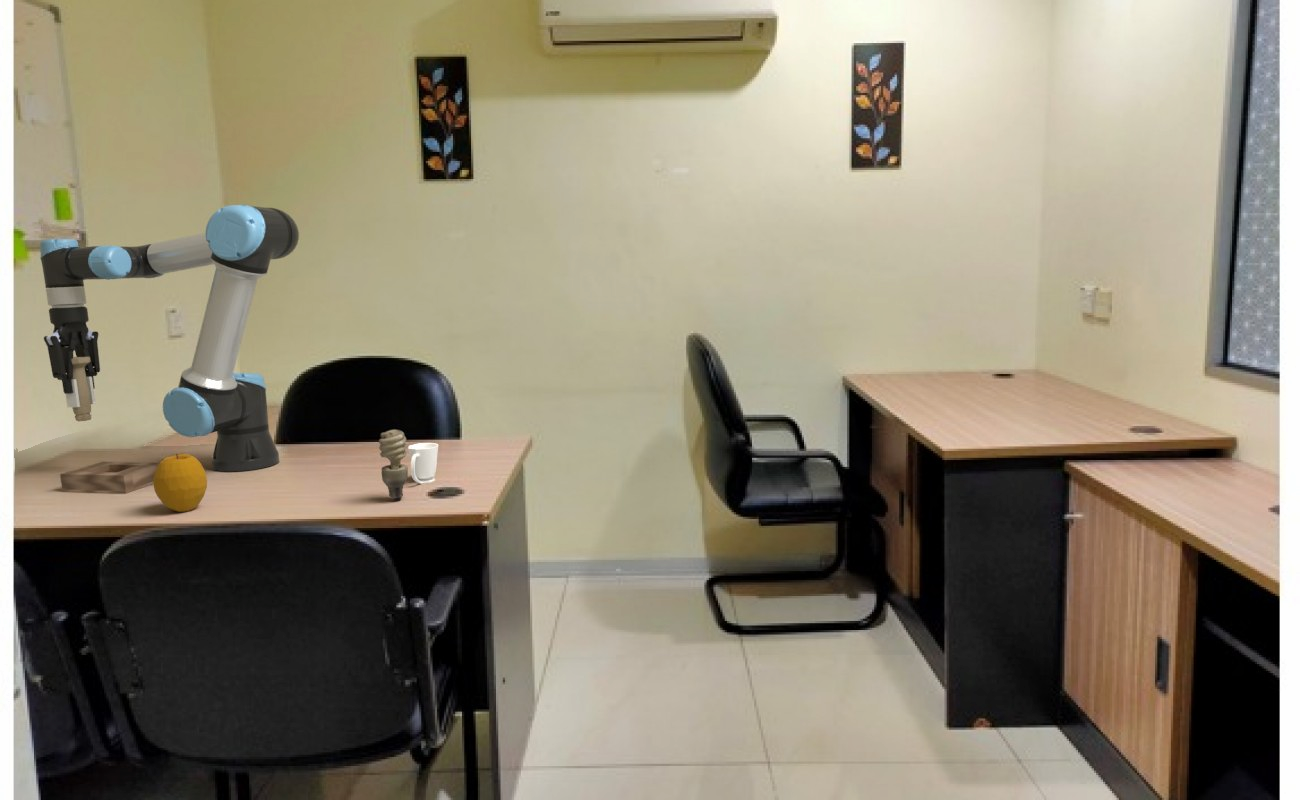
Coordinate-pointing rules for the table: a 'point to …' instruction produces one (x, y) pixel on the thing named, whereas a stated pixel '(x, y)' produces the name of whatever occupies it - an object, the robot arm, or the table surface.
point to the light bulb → (394, 462)
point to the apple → (180, 482)
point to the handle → (81, 389)
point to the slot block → (109, 477)
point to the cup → (423, 461)
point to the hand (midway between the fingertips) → (81, 405)
